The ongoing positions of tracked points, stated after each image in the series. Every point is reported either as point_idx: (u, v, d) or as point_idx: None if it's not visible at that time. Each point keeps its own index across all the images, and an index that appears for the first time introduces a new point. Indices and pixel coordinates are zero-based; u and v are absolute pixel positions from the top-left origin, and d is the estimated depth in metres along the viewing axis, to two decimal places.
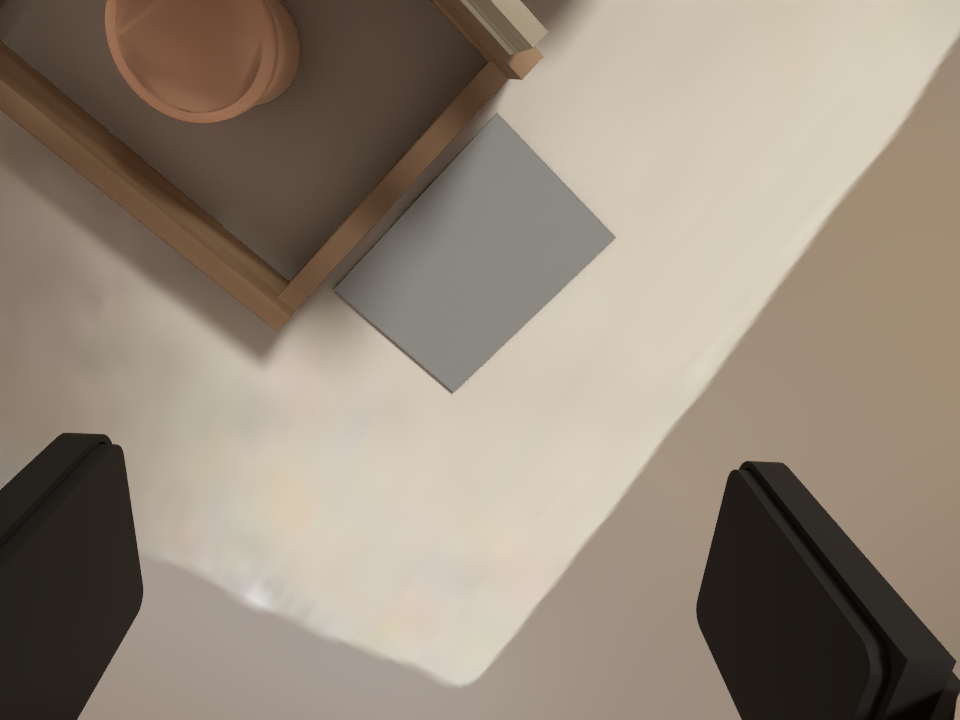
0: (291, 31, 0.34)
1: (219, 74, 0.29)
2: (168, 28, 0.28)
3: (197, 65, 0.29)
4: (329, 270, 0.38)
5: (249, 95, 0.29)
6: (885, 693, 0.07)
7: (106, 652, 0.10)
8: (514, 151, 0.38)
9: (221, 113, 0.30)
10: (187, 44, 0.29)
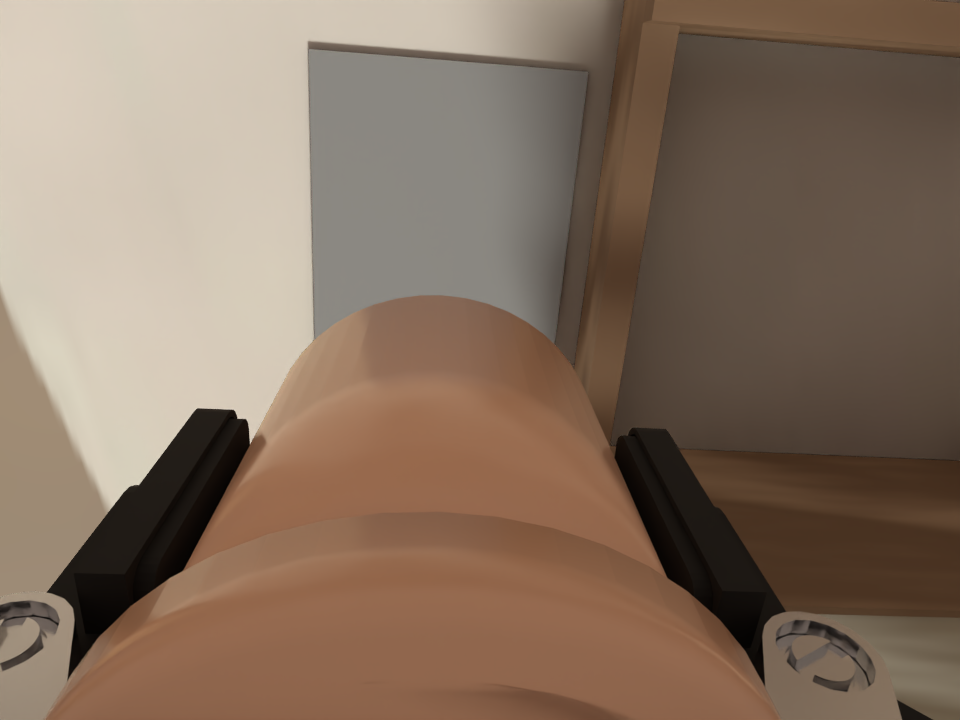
0: None
1: None
2: None
3: None
4: (630, 128, 0.23)
5: None
6: None
7: None
8: None
9: None
10: None
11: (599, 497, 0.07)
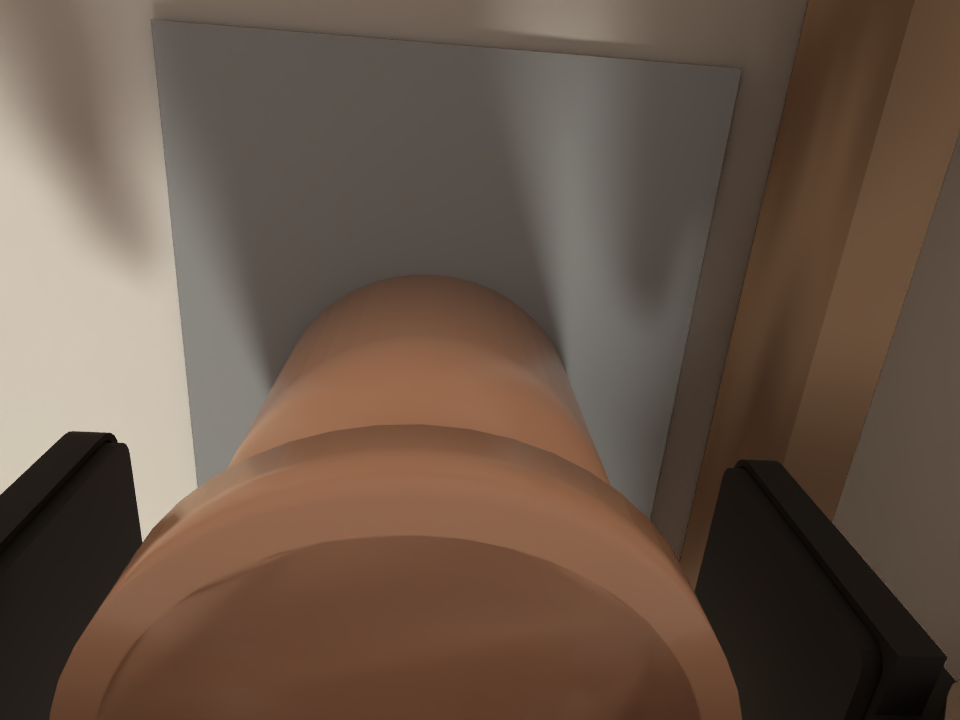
0: None
1: None
2: None
3: None
4: (865, 196, 0.10)
5: None
6: (877, 689, 0.07)
7: None
8: None
9: (101, 660, 0.06)
10: None
11: (560, 433, 0.09)
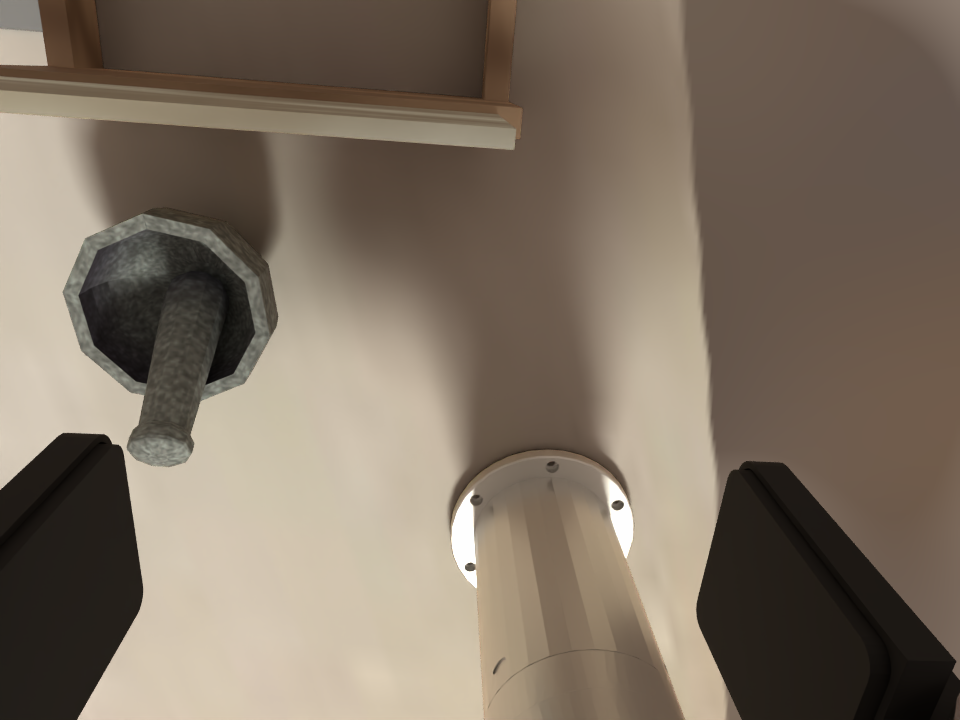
0: None
1: None
2: None
3: None
4: None
5: None
6: (884, 693, 0.07)
7: (106, 652, 0.10)
8: (5, 12, 0.34)
9: None
10: None
11: None
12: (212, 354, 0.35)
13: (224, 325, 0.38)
